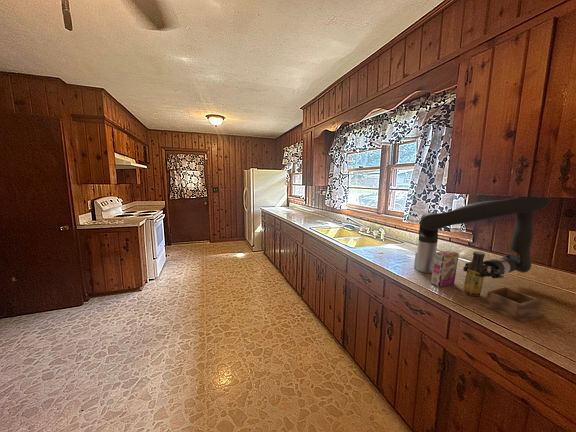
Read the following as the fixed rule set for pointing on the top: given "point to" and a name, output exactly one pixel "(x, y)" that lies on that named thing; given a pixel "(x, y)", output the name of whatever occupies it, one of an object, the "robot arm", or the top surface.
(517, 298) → the walnut caddy
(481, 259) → the sauce bottle
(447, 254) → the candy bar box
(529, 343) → the top surface
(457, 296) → the top surface
